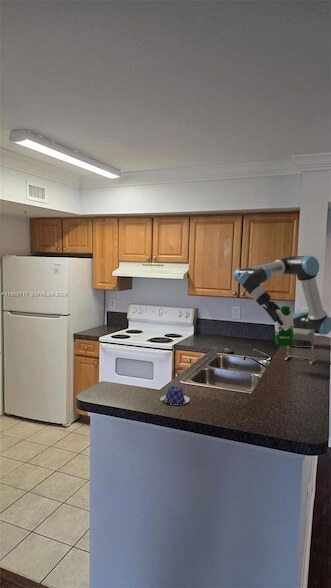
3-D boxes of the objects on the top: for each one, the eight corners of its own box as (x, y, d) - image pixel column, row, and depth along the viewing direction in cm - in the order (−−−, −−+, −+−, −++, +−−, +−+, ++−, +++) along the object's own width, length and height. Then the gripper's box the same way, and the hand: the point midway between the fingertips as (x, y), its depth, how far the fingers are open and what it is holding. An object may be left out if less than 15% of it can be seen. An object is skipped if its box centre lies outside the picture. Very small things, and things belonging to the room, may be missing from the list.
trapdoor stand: (289, 357, 225) (290, 325, 223) (315, 360, 217) (316, 328, 215) (284, 360, 216) (285, 328, 214) (311, 364, 208) (312, 330, 206)
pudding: (159, 396, 157) (159, 383, 157) (187, 395, 158) (187, 383, 158) (161, 406, 145) (161, 393, 145) (192, 406, 146) (192, 393, 146)
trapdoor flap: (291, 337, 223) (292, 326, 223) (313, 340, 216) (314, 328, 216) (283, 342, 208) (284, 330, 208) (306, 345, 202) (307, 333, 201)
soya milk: (276, 346, 192) (277, 307, 191) (273, 342, 201) (274, 305, 200) (294, 346, 192) (295, 307, 190) (290, 342, 201) (291, 305, 199)
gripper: (262, 299, 212) (290, 329, 205) (248, 302, 194) (278, 336, 187) (272, 290, 209) (300, 320, 202) (258, 292, 190) (289, 326, 183)
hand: (290, 328), depth 194 cm, fingers closed on soya milk, 9 cm apart
